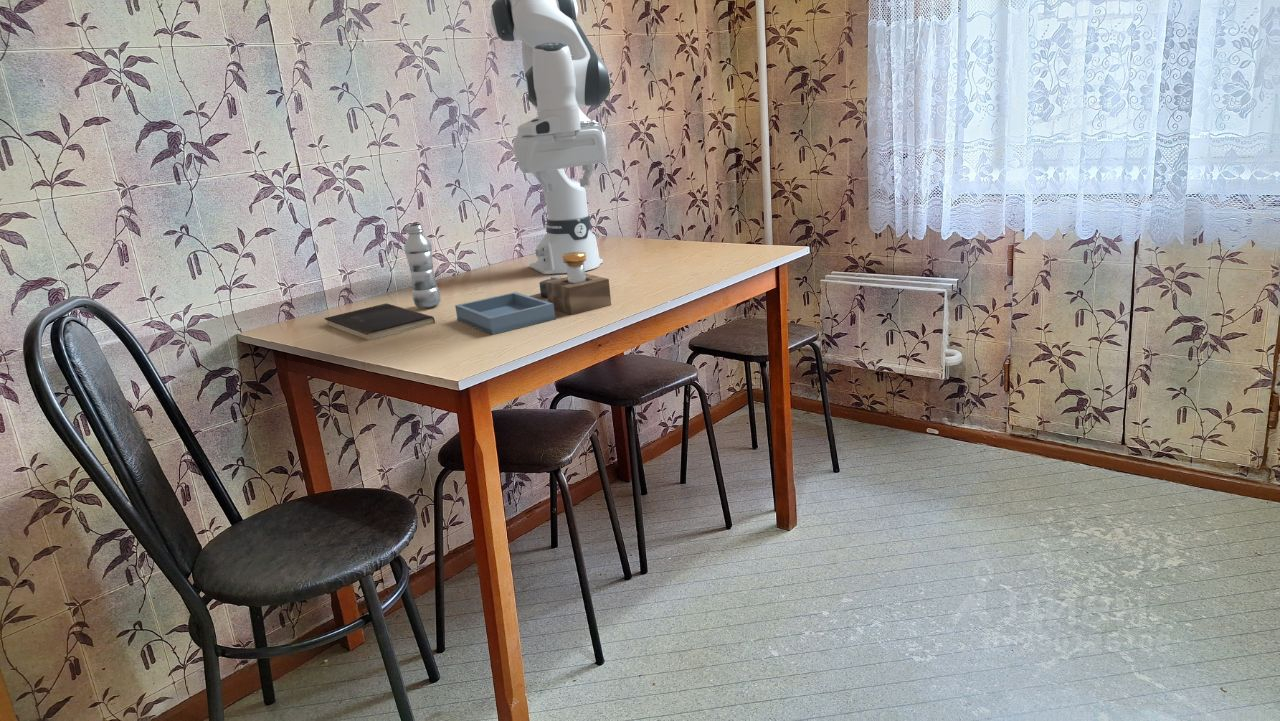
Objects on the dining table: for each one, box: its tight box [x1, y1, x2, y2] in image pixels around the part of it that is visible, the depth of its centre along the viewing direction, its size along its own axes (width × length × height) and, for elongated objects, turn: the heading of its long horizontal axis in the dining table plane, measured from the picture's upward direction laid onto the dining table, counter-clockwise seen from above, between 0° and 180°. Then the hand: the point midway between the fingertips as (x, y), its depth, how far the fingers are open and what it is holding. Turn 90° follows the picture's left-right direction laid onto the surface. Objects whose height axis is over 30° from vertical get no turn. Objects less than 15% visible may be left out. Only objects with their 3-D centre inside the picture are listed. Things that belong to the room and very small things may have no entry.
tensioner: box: [529, 273, 612, 316], centre depth 192 cm, size 19×10×6 cm, turn 35°
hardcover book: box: [324, 302, 436, 341], centre depth 189 cm, size 16×23×2 cm
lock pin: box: [562, 252, 586, 284], centre depth 187 cm, size 5×5×12 cm
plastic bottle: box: [403, 223, 441, 309], centre depth 198 cm, size 6×7×20 cm
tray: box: [454, 291, 556, 336], centre depth 182 cm, size 18×15×4 cm
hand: (566, 189), depth 181 cm, fingers open, 8 cm apart
